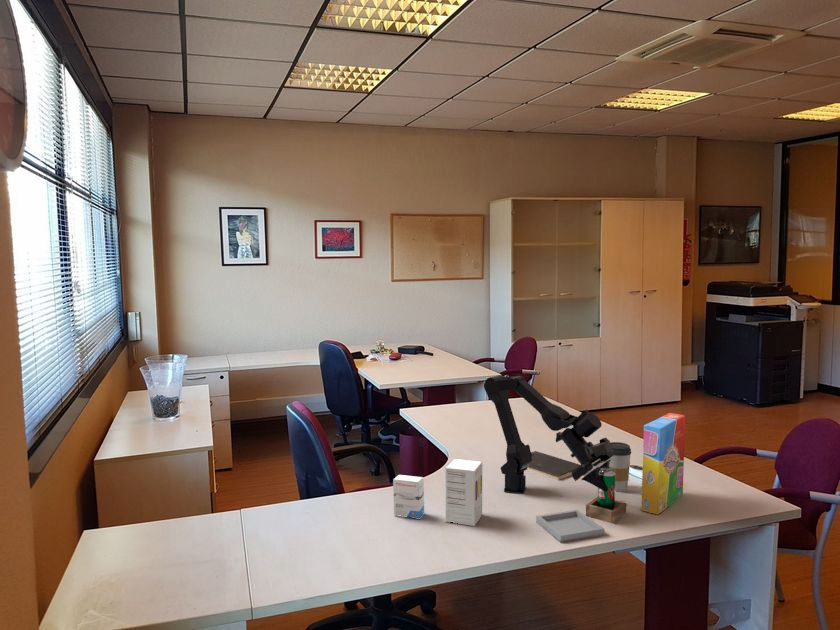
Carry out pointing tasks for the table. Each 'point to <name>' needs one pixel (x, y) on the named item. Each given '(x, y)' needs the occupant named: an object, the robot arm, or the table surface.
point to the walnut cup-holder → (606, 511)
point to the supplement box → (463, 491)
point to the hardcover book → (551, 466)
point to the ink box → (408, 496)
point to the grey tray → (569, 525)
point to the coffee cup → (620, 464)
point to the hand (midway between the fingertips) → (610, 488)
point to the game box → (663, 462)
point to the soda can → (608, 497)
